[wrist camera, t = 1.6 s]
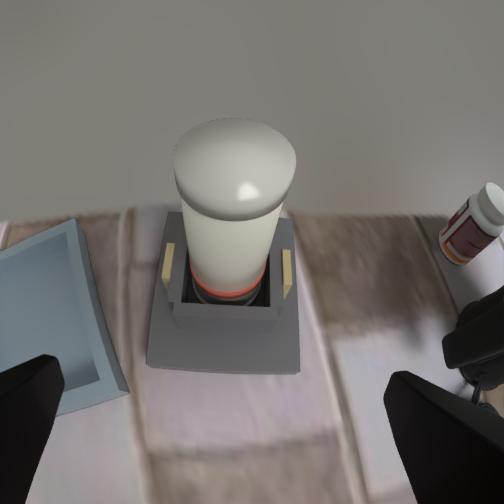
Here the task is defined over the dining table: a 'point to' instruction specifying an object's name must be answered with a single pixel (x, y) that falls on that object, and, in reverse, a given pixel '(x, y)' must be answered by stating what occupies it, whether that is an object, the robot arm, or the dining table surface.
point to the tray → (58, 315)
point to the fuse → (231, 204)
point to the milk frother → (479, 345)
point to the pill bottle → (474, 225)
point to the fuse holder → (225, 314)
